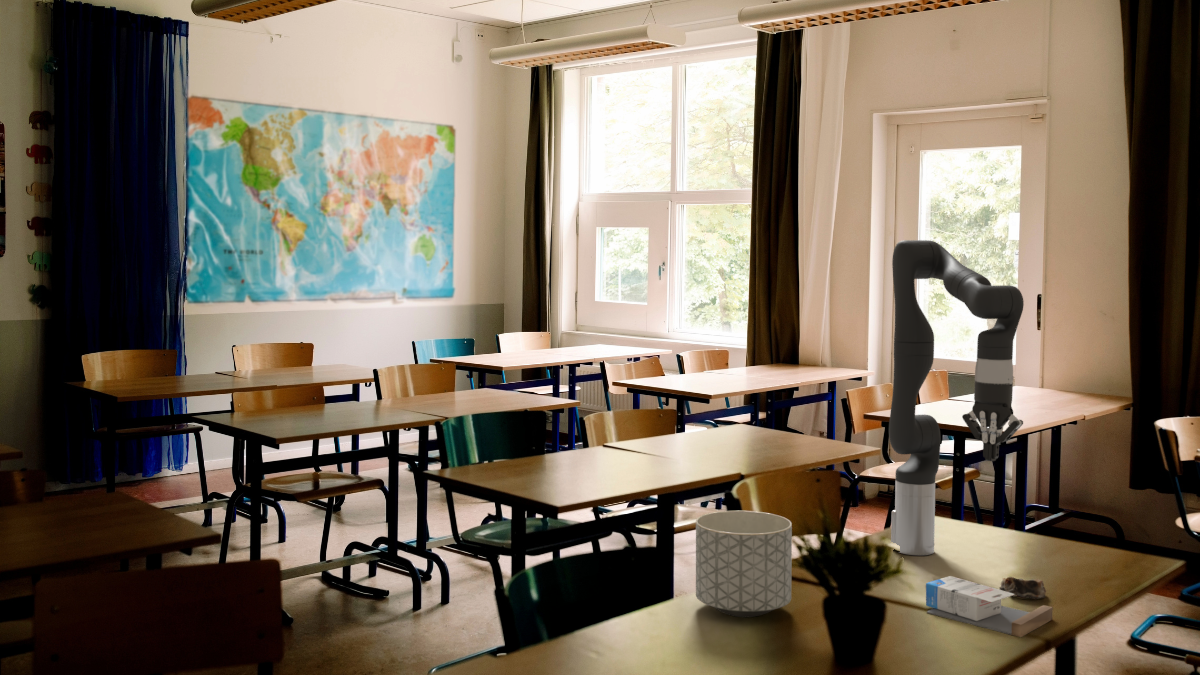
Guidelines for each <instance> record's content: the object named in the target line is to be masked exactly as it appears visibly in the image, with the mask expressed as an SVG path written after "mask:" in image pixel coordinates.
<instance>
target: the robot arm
mask: <svg viewBox="0 0 1200 675" xmlns="http://www.w3.org/2000/svg"><path fill="white" fill-rule="evenodd" d="M891 262H892V264H891V266H892V280H893V281H892V282H893V292H894V293H893V294H894V296H893V297H894V335H893V382H892V385H893V386H892V387H893V388H892V398H891V405H890V406H891V407H890V413H889V415H890V416H889V422H888V439H889V443H890V447H892V449H893V451H894V452H896V454H899V455H910V456H909V458H908V460H906V461H905V462H904V463H902V465H899V466H898V467H897V468H896V469H895V482H894V483H895V488H894V489H895V490H894V492H895V493H894V495H895V497H894V498H895V499H894V506H895V507H894V509H893V510H892V511H891V521H890V524H891V525H890V526H891V527H890V528H891V529H890V535H891V537H890V543H891V542H893V543H896V544H897V545H899V546H900V552H899V554H900V553H901V554H903V555H910V556H929V555H933V554H934V553H935V528H936V527H935V525H936V524H935V519H936V516H935V514H936V513H935V512H936V508H935V507H936V477H937V473H938V471H939V467H940V455H941V454H940V453H941V440H942V439H941V430H940V426H939V423H938V421H937V420H936V418H935V417H933V416H932V415H930V414H916V404H917V398H918V395H919V392H920V390H921V388H922V386H923V384H924V382H925V380H926V379H927V377H928V375H929V373H930V371H931V369H932V367H933V364H934V356H935V335H934V331H933V329H932V326H931V324H930V322H929V320H928V318H927V317H926V314H924V312H923V310H922V309H921V307H920V305H919V303H918V300H917V296H916V287H915V285H916V284H915V280H926V279H927V280H928V279H937V280H941V281H942V282H943V287H944V289H945V290H946V292H947V293H948V294H949V295H950V296H952V297H954V298H955V299H956V300H958V301H960V302H962V303H963V304H964V305H965V306H966V308H967V309H968V310H969V312H970V314H972V315H973V316H975V317H977V318H980V319H983V320H996V321H995V323H994V326H992V327H991V328H989V329H986V330H983V331H980V332H979V333H978V336H977V346H976V348H977V349H976V363H975V368H974V369H975V370H974V390H973V392H974V394H973V395H974V396H973V400H974V404H973V405H972V409H971V411H969V412H967V413H964V414H962V420H963V421H964V423H965V424H966V425H967V427H968V429H969V431H970V432H971V434H972V435H973V437H974V438H975V439H978V440H980V441H982V443H983V444H982V446H983V447H982V456H983V458H984V460H985V461H988V462H995V461H997V459H998V458H999V456H1000V454H999V453H1000V452H999V451H1000V444H1001V443H1004V442H1008V441H1009V440H1010V439H1011V438H1012V437H1013V435H1015V434H1016V432H1017V431H1018V430H1019V429H1020V428H1021V427H1022V426H1023V425H1024V421H1023V420H1022V419H1018V418H1017V417H1016V416H1015V415H1014V410H1013V407H1012V402H1013V387H1014V385H1013V384H1014V363H1013V357H1014V356H1013V353H1014V351H1013V350H1014V340H1015V335H1016V332H1017V329H1018V325H1020V324H1019V323H1020V319H1021V317H1022V314H1023V311H1024V305H1025V304H1024V302H1025V300H1024V297H1023V295H1022V292H1021V291H1020V289H1019V288H1018V287H1016V286H1014V285H992V283H991V281H990V280H989V279H988V278H987V277H986V276H984V275H982V274H981V273H978V272H977V271H975V270H973V269H971V268H969V267H967V266H965V265H964V264H963V263H961V261H959V260H958V259H956V258H955V257H954V256H953V255H952V253H949V251H948V250H947V249H946V248H944V246H942V245H941V244H940V243H938V242H936V241H934V240H926V239H923V240H922V239H920V240H916V239H915V240H914V239H911V240H910V239H905V240H900V241H899V242H897V243H896V245H895V246H894V249H893V253H892V261H891ZM1006 424H1007V425H1008V427H1007V428H1006V429H1005V430H1004V426H1005V425H1006Z"/></svg>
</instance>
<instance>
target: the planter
mask: <svg viewBox="0 0 1200 675" xmlns="http://www.w3.org/2000/svg"><path fill="white" fill-rule="evenodd" d="M792 524H793V523H792V521H791V520H790V519H788V518H786V517H784V516H781V515H778V514H774V513H769V512H765V511H764V512H763V511H756V510H755V511H754V510H724V511H722V510H721V511H715V512H708V513H706V514H702V515H700V516H699V517H697V518H696V520H695V597H696V599H697V600H698V601H700V602H701V603H703V604H705V605H707V606H709V607H712V608H714V609H716V610H717V611H719V612H721V613H723V614H725V615H729V616H732V617H736V618H738V617H739V618H755V617H759V616H762V615H765V614H768V613H770V612H772V611H775V610H777V609H780V608H783V607H786V606H787V605H788V604H790V603H791V600H792V564H793V563H792V556H793V554H792V552H793V551H792V550H793V549H792V546H793V545H792V544H793V543H792V542H793V541H792V540H793V536H792V535H793V530H792V529H793V527H792V526H793V525H792Z"/></svg>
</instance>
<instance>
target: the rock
mask: <svg viewBox="0 0 1200 675" xmlns="http://www.w3.org/2000/svg"><path fill="white" fill-rule="evenodd" d="M999 589H1000V590H1002V591H1006V592H1009V593H1013V594H1014V595H1013V597H1017V598H1018V599H1030V600H1039V599H1044V598H1046V593H1047V589H1046V588H1045V584H1044V580H1042V579H1038V578H1037V579H1033V578H1032V579H1023V578H1016V577H1013V576H1008V577H1004V578H1003V577H1002V581H1001V582H1000V587H999Z"/></svg>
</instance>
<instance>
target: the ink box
mask: <svg viewBox="0 0 1200 675" xmlns="http://www.w3.org/2000/svg"><path fill="white" fill-rule="evenodd" d="M1013 595H1014V594H1013V593H1009V592H1008V591H1005V590H1001V589H1000V588H995V587H993V586H988V585H985V584H981V583H977V582H973V581H970V580H966V579H964V578H963V579H962V578H958V577H956V576H953V575H948V576H945V577H942V578H938V579H935V580H931V581H928V582H926V583H925V606H927V607H929V608H931V609H933V608H935V609H939V610H942V611H945V612H949V613H952V614H955V615H959V616H962V617H965V618H968V619H971V620H975V621H979V620H982V619H985V618H988V617H990V616H993V615H996V614H999V613H1001V606H1002V600H1003V599H1007V598H1009V597H1012V596H1013ZM1013 597H1014V596H1013Z"/></svg>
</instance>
